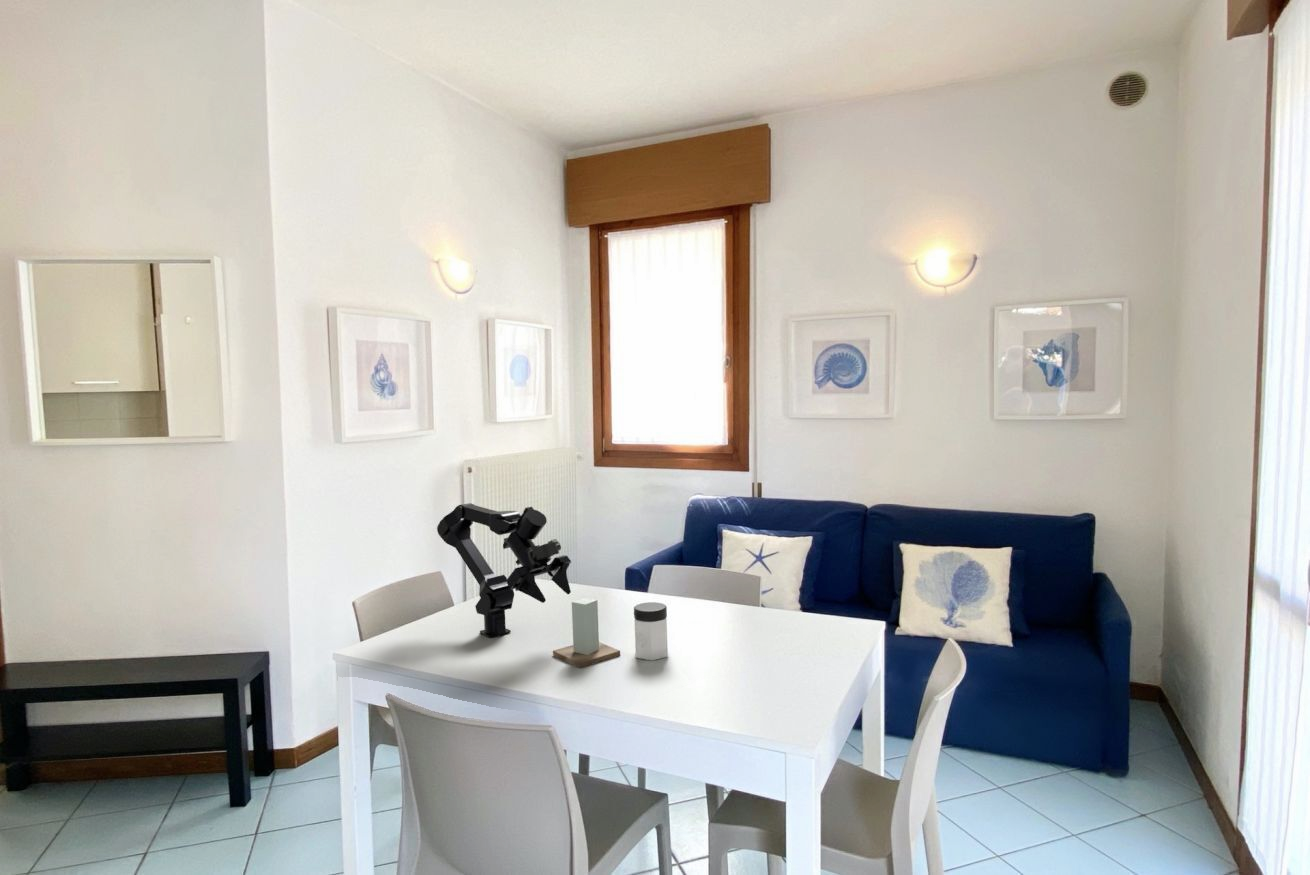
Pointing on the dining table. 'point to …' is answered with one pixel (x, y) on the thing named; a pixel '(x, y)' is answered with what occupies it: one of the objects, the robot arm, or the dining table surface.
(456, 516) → the robot arm
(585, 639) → the pale green square post
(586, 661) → the plate
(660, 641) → the jar
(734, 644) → the dining table surface
